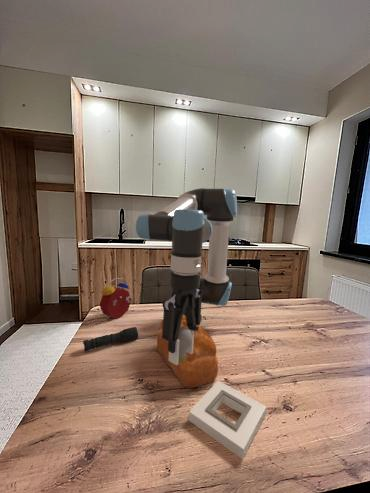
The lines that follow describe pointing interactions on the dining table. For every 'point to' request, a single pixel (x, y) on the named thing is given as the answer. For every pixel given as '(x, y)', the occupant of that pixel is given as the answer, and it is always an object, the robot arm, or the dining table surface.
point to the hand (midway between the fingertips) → (181, 356)
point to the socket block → (223, 429)
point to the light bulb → (184, 342)
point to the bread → (193, 358)
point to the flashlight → (111, 339)
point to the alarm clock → (115, 300)
